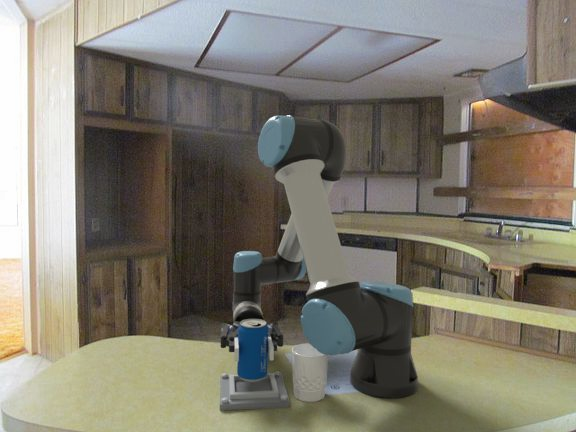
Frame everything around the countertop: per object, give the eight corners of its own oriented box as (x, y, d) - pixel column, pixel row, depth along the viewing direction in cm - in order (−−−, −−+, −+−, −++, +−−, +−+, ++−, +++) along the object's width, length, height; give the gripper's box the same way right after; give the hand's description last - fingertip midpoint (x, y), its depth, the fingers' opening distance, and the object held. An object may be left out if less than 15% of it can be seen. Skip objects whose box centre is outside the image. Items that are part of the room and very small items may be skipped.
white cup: (302, 406, 96) (303, 358, 95) (284, 391, 103) (285, 346, 102) (334, 399, 100) (335, 352, 99) (315, 384, 107) (316, 341, 106)
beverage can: (253, 386, 97) (254, 329, 96) (231, 377, 101) (231, 323, 100) (273, 376, 102) (274, 322, 101) (251, 368, 106) (252, 316, 105)
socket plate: (281, 378, 110) (281, 369, 109) (289, 407, 96) (289, 396, 96) (220, 380, 108) (220, 371, 107) (219, 410, 94) (219, 399, 94)
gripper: (286, 333, 120) (300, 370, 98) (209, 335, 118) (206, 373, 95) (287, 304, 120) (301, 335, 97) (209, 306, 117) (206, 337, 94)
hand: (254, 354), depth 96 cm, fingers closed on beverage can, 6 cm apart
